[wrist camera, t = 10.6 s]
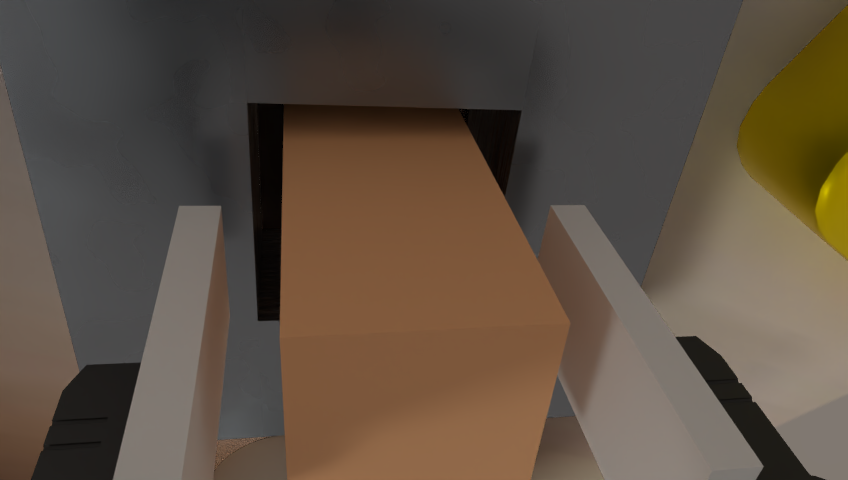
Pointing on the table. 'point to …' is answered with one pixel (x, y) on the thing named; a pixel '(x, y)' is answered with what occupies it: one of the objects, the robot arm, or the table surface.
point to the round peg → (256, 461)
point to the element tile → (806, 135)
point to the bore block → (330, 85)
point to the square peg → (407, 303)
